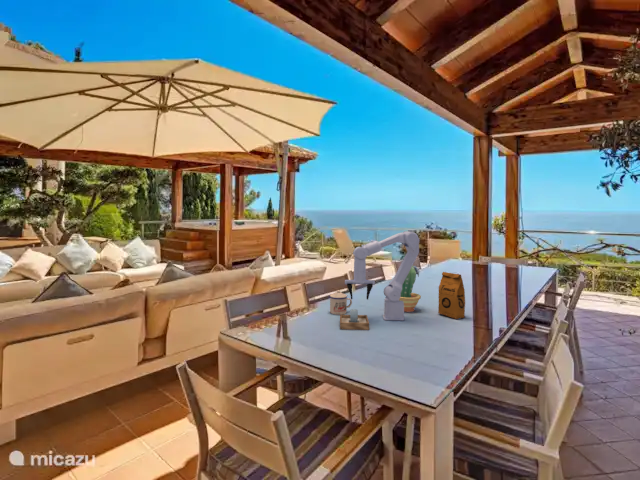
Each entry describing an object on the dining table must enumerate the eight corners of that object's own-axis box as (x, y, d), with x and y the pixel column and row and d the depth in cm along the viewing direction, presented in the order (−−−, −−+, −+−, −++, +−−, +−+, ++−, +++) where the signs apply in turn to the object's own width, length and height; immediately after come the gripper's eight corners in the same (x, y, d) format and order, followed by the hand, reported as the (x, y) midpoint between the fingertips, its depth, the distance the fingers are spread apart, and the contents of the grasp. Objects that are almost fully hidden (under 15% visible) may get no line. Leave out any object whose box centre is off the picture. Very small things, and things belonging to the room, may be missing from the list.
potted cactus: (420, 314, 190) (421, 266, 188) (390, 312, 194) (390, 265, 192) (420, 307, 205) (421, 262, 203) (392, 305, 209) (393, 261, 207)
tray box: (367, 321, 178) (367, 315, 177) (369, 329, 165) (369, 323, 164) (339, 320, 178) (340, 314, 178) (339, 329, 165) (339, 322, 165)
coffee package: (454, 320, 179) (456, 275, 178) (435, 314, 190) (436, 272, 188) (468, 317, 184) (469, 274, 183) (448, 311, 195) (449, 270, 193)
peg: (357, 324, 173) (357, 309, 173) (357, 326, 170) (357, 311, 169) (350, 323, 173) (350, 309, 173) (350, 326, 170) (350, 311, 169)
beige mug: (332, 315, 187) (333, 293, 186) (327, 311, 196) (327, 289, 195) (354, 313, 191) (355, 291, 190) (348, 309, 199) (348, 288, 198)
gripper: (374, 270, 184) (373, 297, 185) (344, 270, 184) (344, 296, 185) (375, 272, 177) (374, 300, 178) (345, 272, 177) (344, 300, 178)
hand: (359, 299), depth 181 cm, fingers open, 7 cm apart
